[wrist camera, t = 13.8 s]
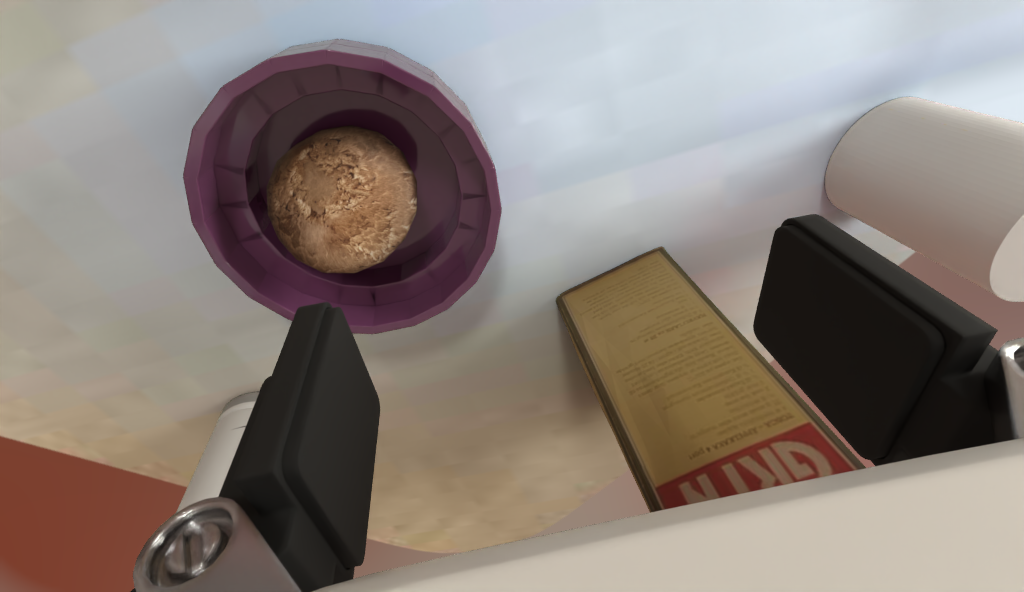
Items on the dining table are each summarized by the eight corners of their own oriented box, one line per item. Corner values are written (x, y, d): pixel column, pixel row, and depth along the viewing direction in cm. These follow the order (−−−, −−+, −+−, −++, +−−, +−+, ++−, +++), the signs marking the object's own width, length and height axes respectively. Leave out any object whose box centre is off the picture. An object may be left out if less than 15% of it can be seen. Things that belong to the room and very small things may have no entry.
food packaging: (702, 358, 42) (976, 725, 21) (604, 402, 43) (775, 791, 22) (666, 240, 34) (1034, 628, 14) (549, 297, 35) (729, 735, 15)
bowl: (164, 66, 24) (112, 84, 20) (464, 16, 25) (473, 24, 21) (286, 308, 32) (267, 356, 28) (504, 265, 33) (516, 305, 29)
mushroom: (423, 287, 29) (378, 287, 23) (304, 264, 30) (230, 258, 24) (446, 155, 28) (407, 118, 22) (324, 137, 30) (255, 97, 23)
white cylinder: (917, 198, 36) (1105, 281, 26) (815, 223, 36) (965, 316, 26) (956, 84, 31) (1202, 134, 21) (838, 112, 31) (1033, 174, 21)
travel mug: (273, 375, 35) (148, 719, 19) (324, 427, 39) (256, 753, 23) (200, 405, 36) (15, 767, 19) (257, 454, 40) (143, 792, 23)
